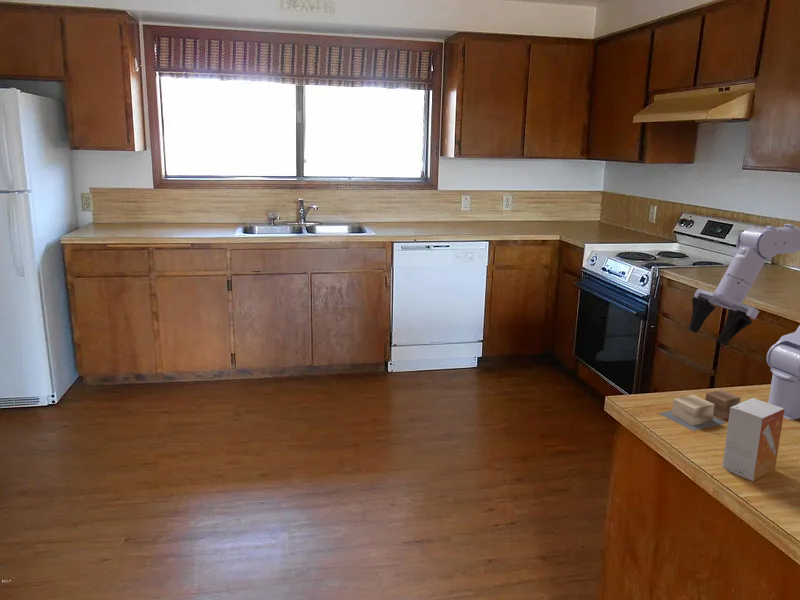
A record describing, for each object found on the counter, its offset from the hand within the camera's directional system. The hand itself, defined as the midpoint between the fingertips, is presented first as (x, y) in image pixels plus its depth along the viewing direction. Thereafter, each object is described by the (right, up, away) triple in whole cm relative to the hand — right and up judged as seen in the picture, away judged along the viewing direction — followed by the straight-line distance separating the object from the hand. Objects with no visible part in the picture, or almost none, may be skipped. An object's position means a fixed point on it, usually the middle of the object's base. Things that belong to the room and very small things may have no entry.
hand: (706, 337), depth 137 cm
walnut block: (+8, -19, +10) cm, 23 cm away
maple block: (+1, -19, +8) cm, 20 cm away
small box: (+2, -25, -14) cm, 29 cm away
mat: (+1, -19, +8) cm, 21 cm away
